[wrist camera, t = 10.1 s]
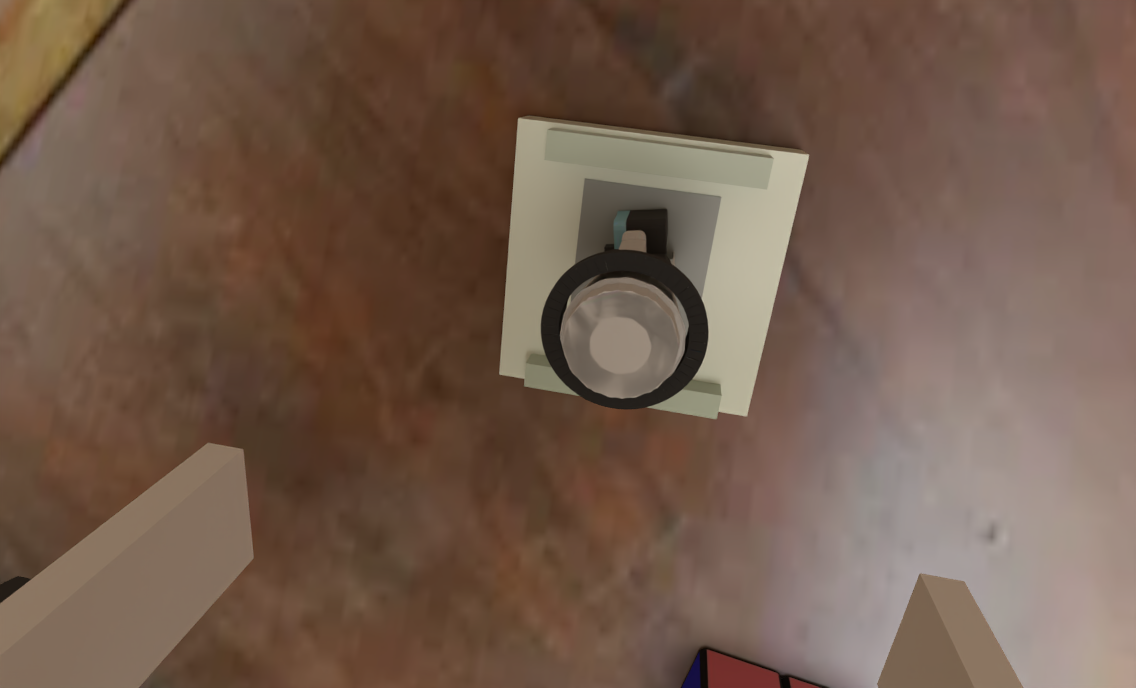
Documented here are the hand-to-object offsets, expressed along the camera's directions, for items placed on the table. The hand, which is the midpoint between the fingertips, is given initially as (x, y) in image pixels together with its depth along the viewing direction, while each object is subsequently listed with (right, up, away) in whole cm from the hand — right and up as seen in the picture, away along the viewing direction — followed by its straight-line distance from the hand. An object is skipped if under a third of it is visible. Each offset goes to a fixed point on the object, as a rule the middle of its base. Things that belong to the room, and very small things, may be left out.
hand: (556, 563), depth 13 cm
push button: (+3, +7, +17) cm, 19 cm away
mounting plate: (+4, +8, +19) cm, 21 cm away
